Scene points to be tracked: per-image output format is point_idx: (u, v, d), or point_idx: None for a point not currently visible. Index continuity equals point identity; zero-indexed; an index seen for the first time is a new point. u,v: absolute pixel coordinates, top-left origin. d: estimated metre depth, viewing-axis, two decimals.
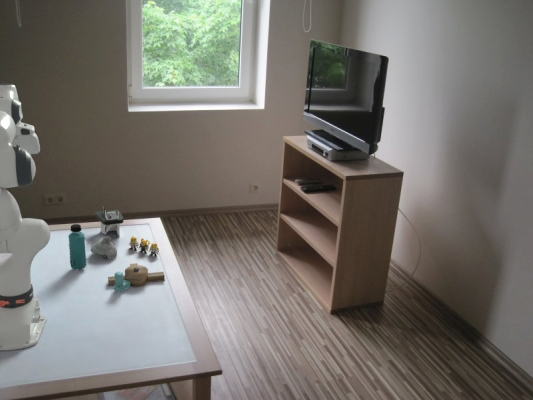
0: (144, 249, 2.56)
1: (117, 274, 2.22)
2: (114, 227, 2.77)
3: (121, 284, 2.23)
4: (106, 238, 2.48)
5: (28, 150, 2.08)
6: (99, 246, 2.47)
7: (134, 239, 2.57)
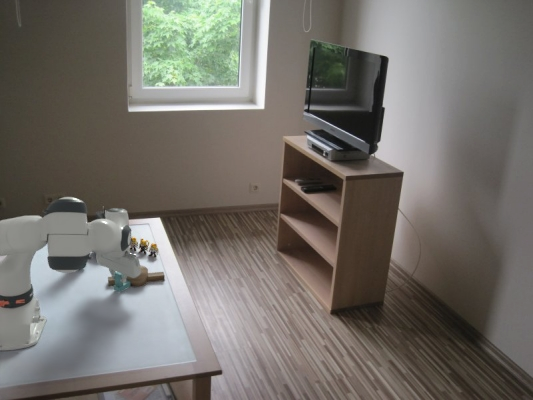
0: (144, 249, 2.56)
1: (117, 274, 2.22)
2: None
3: (121, 284, 2.23)
4: None
5: None
6: None
7: (134, 239, 2.57)
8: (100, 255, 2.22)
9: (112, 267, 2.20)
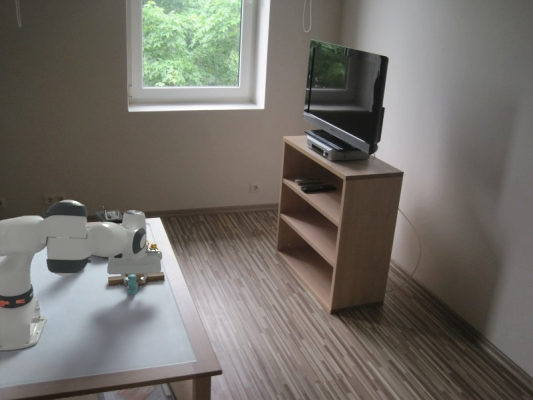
0: None
1: (131, 277, 2.20)
2: None
3: (136, 286, 2.22)
4: None
5: None
6: None
7: None
8: (113, 264, 2.16)
9: (130, 271, 2.18)
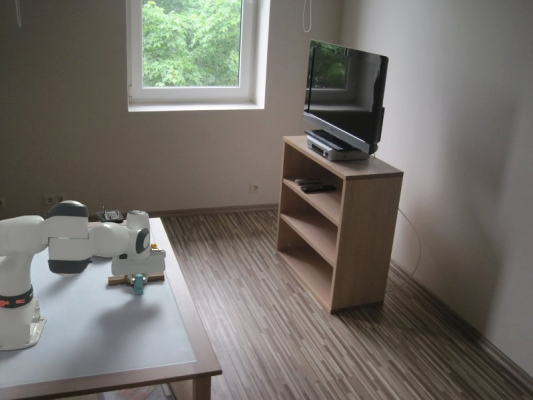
0: None
1: (138, 277, 2.21)
2: None
3: (142, 285, 2.23)
4: None
5: None
6: None
7: None
8: (118, 265, 2.15)
9: (135, 271, 2.18)
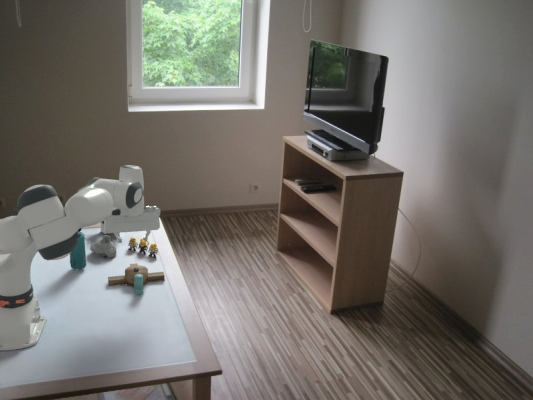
0: (143, 249, 2.55)
1: (138, 277, 2.21)
2: None
3: (142, 285, 2.23)
4: (105, 237, 2.50)
5: None
6: (98, 245, 2.48)
7: (133, 239, 2.57)
8: (111, 222, 2.09)
9: (129, 229, 2.12)
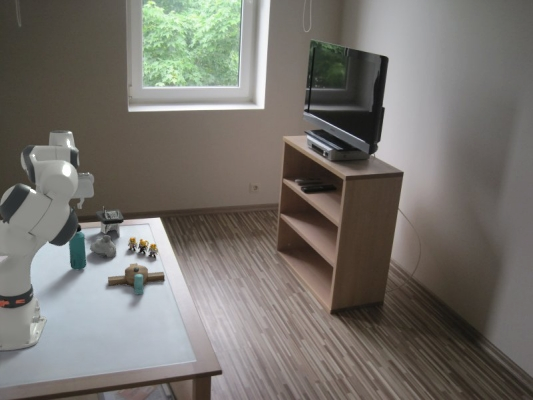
0: (143, 250, 2.55)
1: (138, 277, 2.21)
2: (114, 227, 2.77)
3: (142, 285, 2.23)
4: (105, 237, 2.50)
5: None
6: (98, 245, 2.48)
7: (133, 240, 2.57)
8: None
9: None
